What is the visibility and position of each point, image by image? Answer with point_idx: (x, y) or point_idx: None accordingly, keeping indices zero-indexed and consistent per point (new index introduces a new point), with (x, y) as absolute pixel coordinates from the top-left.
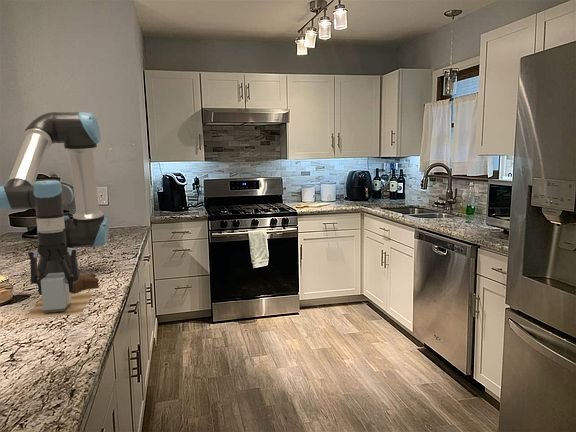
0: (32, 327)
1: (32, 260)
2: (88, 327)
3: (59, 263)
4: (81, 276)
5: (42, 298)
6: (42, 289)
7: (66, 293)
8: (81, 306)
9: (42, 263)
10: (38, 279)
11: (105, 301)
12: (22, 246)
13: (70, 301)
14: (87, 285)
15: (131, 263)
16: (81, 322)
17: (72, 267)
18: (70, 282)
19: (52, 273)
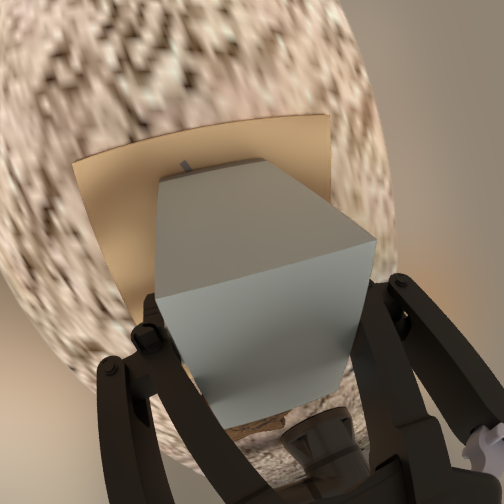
0: (254, 24)
1: (495, 395)
2: (9, 36)
3: (270, 489)
4: (245, 431)
5: (293, 179)
6: (321, 203)
7: None
8: (122, 260)
9: (434, 417)
10: (383, 303)
11: (79, 325)
12: (365, 441)
13: None
14: (209, 407)
15: (196, 469)
16: (43, 77)
17: (132, 460)
18: (137, 330)
19: (315, 396)
